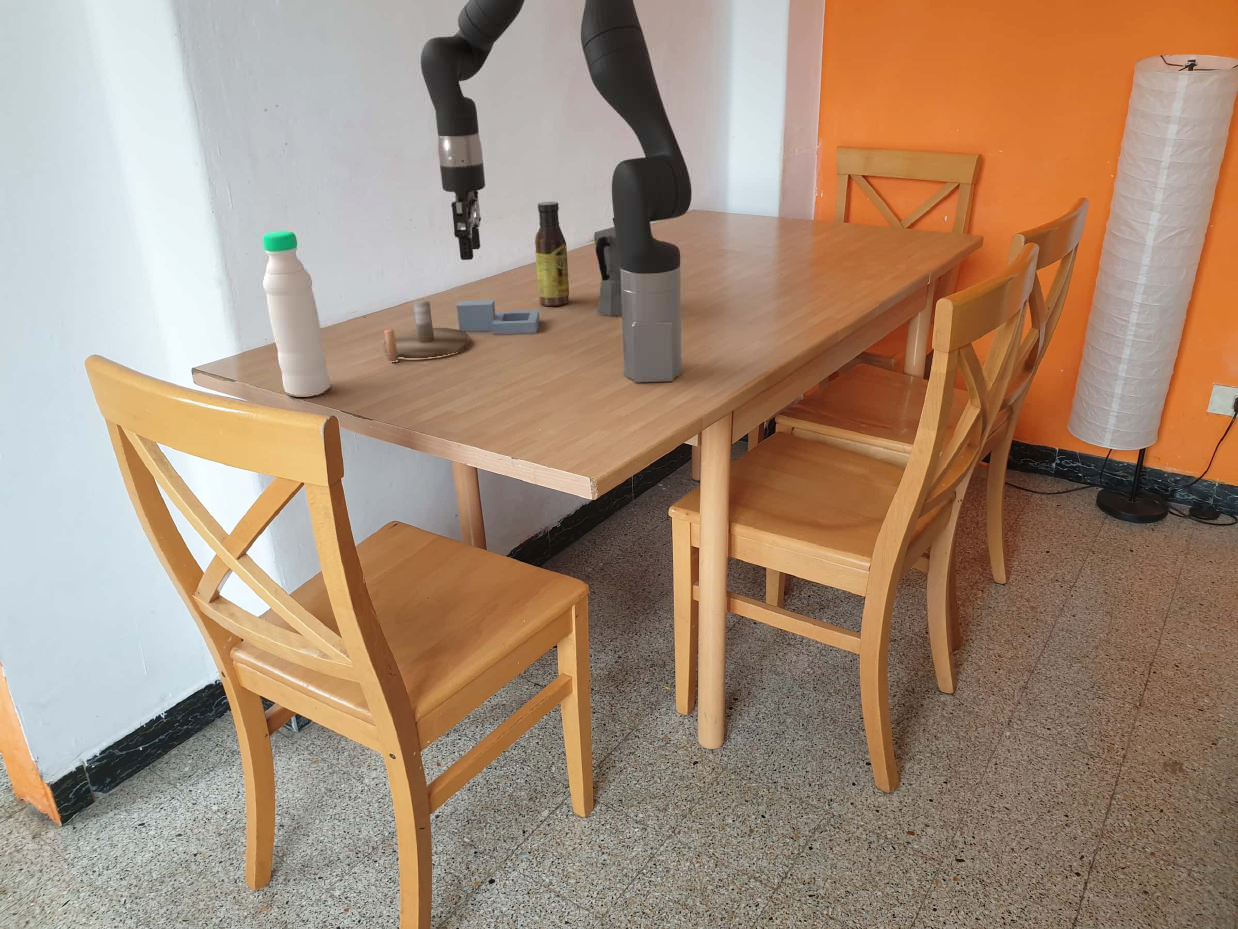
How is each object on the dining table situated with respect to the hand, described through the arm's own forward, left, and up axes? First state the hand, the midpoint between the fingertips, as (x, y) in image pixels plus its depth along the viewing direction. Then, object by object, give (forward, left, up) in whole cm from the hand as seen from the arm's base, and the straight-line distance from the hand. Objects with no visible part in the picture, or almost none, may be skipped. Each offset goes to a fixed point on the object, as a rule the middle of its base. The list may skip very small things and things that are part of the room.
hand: (470, 253), depth 174 cm
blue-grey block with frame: (0, -4, -14) cm, 15 cm away
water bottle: (-31, +23, -14) cm, 41 cm away
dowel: (-18, +12, -14) cm, 26 cm away
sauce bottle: (+16, -13, -14) cm, 25 cm away
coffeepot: (+8, -26, -14) cm, 31 cm away
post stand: (-10, +8, -14) cm, 19 cm away
